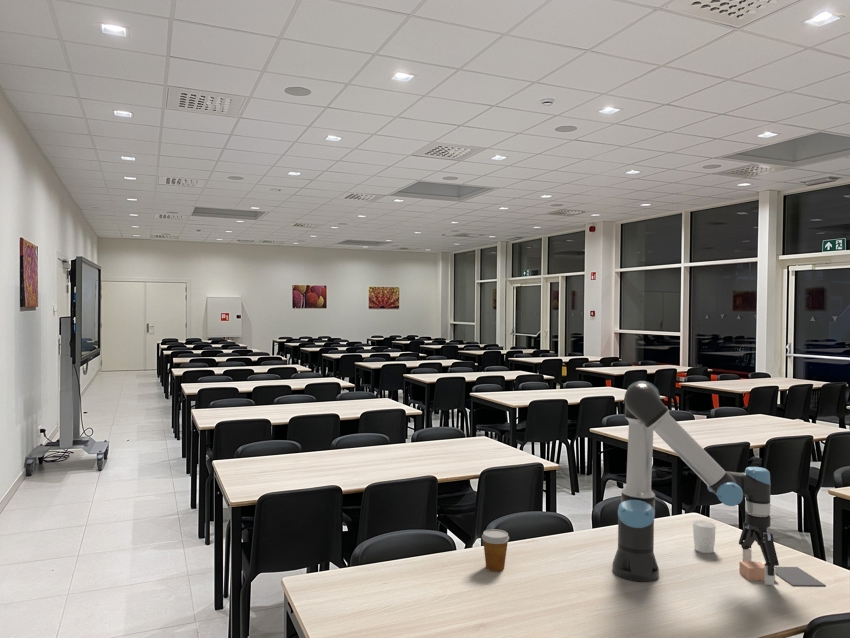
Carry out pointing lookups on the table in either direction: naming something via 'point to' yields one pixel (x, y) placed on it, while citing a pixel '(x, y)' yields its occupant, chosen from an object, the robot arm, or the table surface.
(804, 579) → the mat
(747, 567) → the flat block
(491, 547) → the disposable coffee cup
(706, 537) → the white cup
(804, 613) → the table surface
